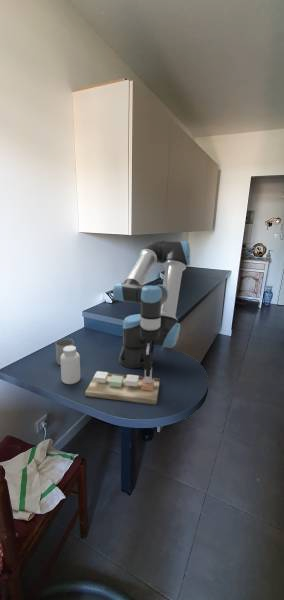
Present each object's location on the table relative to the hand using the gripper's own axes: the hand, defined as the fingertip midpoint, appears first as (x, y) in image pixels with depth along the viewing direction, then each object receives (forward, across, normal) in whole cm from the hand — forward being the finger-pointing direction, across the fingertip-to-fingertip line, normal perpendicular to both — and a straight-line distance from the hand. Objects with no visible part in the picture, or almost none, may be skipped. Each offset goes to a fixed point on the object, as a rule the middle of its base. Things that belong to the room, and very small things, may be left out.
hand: (147, 381), depth 110 cm
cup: (+5, -18, -43) cm, 47 cm away
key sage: (+2, 0, -13) cm, 13 cm away
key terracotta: (+2, 0, 0) cm, 2 cm away
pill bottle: (+5, -3, -34) cm, 34 cm away
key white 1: (+1, 0, -19) cm, 20 cm away
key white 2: (+1, 0, -7) cm, 7 cm away
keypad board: (+5, 0, -10) cm, 11 cm away
